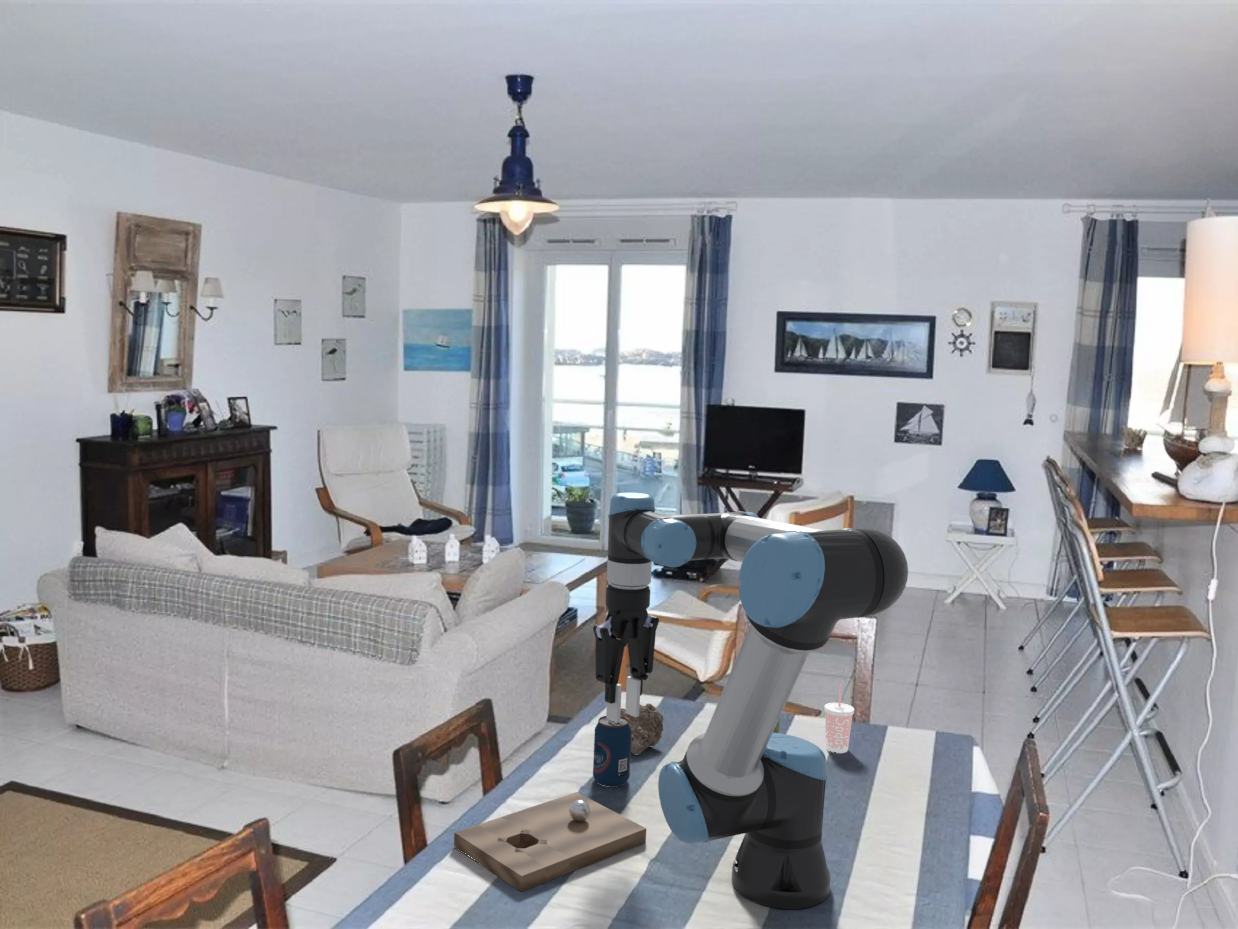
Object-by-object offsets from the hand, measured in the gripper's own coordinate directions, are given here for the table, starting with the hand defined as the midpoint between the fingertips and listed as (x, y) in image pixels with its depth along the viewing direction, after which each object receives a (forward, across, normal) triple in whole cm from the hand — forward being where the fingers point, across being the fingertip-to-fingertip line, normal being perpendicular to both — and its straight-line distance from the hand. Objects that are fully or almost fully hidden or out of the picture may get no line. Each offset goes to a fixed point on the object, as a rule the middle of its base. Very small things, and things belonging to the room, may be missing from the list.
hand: (622, 717), depth 186 cm
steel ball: (+14, +9, 0) cm, 17 cm away
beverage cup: (+19, -59, +3) cm, 62 cm away
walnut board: (+19, +15, 0) cm, 24 cm away
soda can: (+19, -10, -13) cm, 25 cm away
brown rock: (+19, -25, -23) cm, 39 cm away
